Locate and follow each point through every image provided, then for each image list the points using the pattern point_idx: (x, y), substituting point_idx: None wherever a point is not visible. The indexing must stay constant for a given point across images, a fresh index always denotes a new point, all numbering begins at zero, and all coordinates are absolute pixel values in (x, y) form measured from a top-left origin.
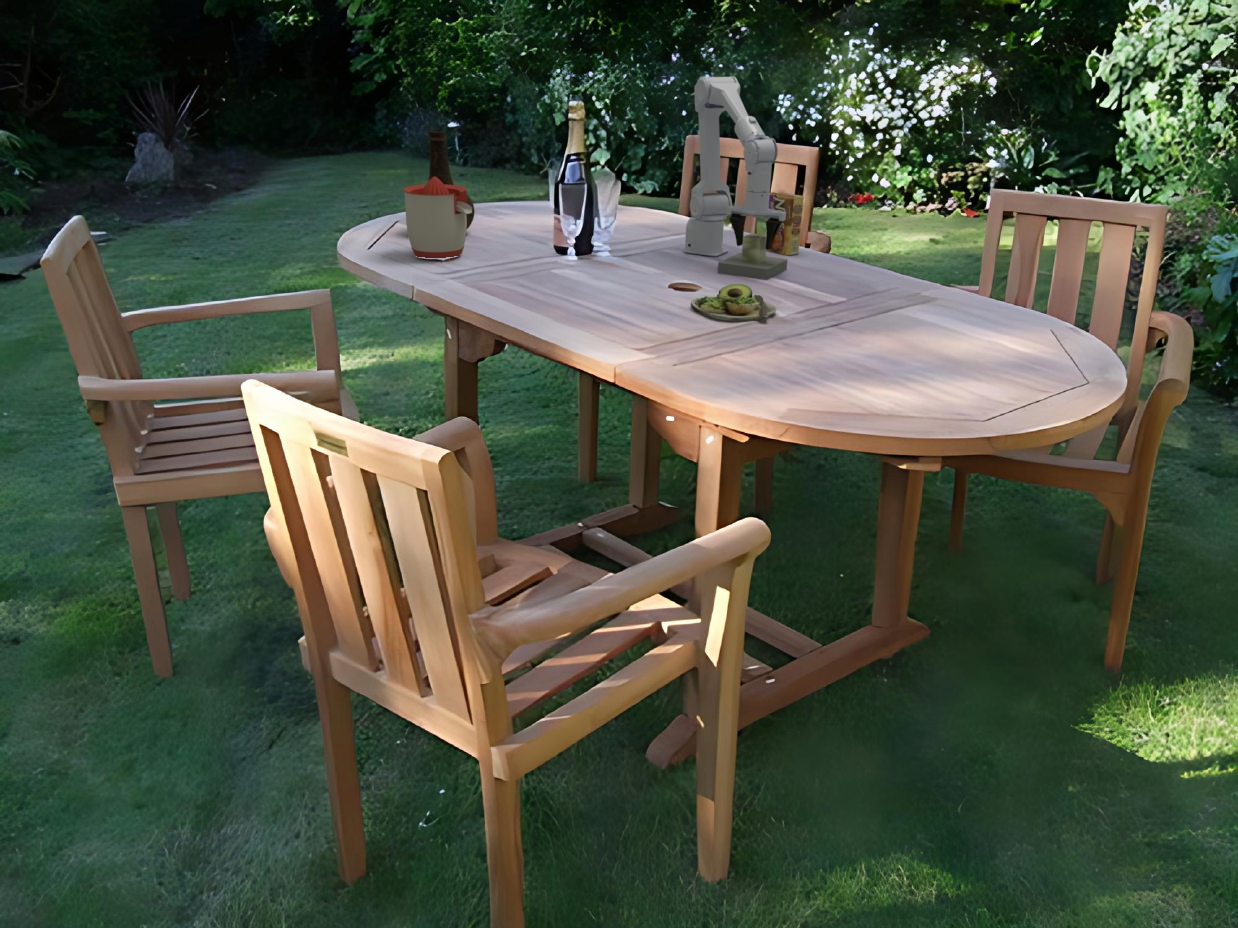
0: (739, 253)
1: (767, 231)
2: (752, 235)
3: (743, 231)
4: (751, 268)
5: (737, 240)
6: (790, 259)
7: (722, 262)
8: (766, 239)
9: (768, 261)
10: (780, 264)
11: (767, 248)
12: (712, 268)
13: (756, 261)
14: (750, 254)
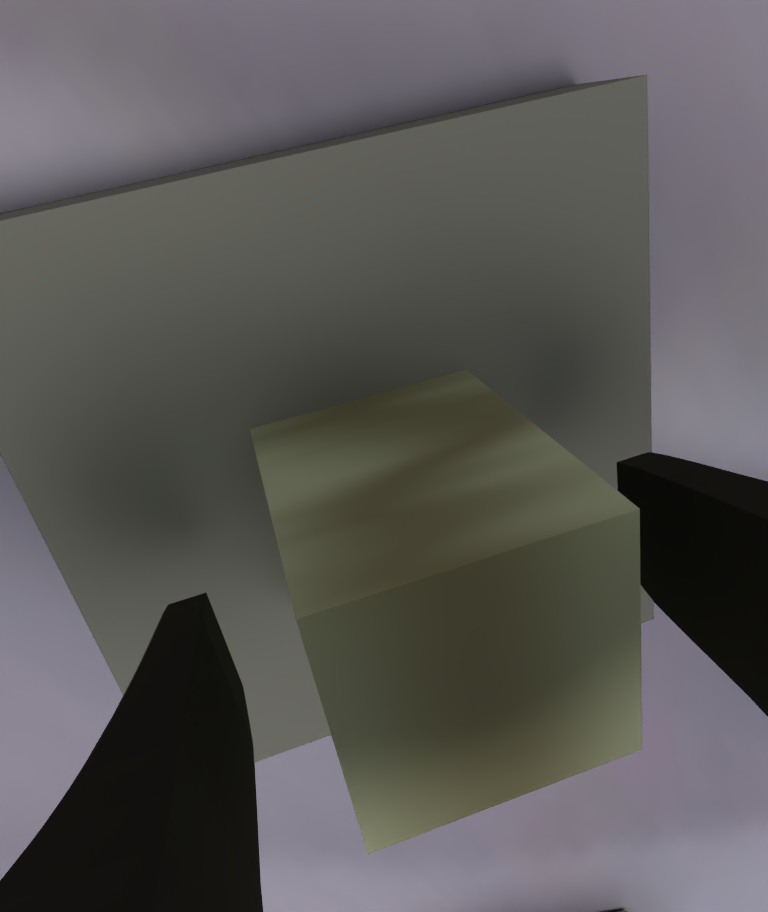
0: (645, 608)
1: (140, 831)
2: (565, 705)
3: (755, 699)
4: (168, 184)
5: (694, 473)
6: (374, 907)
7: (607, 121)
8: (182, 689)
9: (241, 593)
10: (101, 636)
11: (173, 609)
12: (699, 226)
13: (280, 430)
14: (387, 437)
